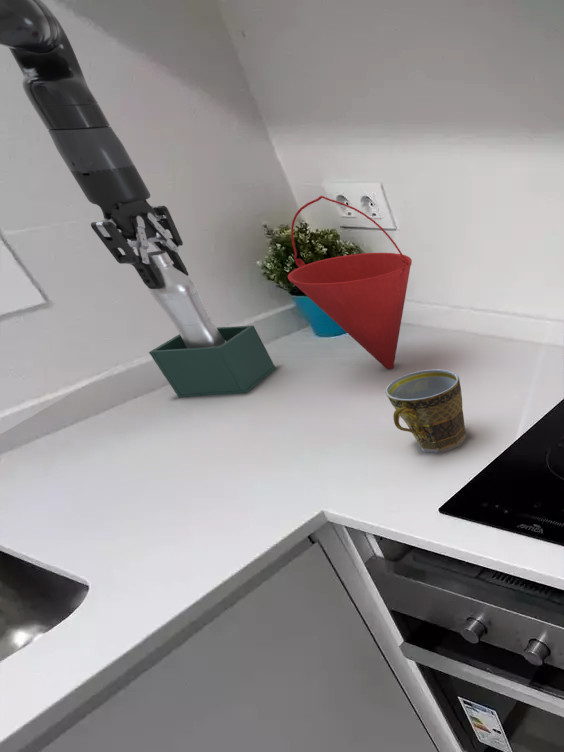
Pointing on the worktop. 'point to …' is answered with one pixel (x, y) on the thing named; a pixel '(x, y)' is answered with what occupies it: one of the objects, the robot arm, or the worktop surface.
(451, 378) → the ceramic cup
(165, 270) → the plastic bottle
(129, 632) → the worktop surface
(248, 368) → the bin
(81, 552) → the worktop surface
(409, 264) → the fire bucket
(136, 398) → the worktop surface
